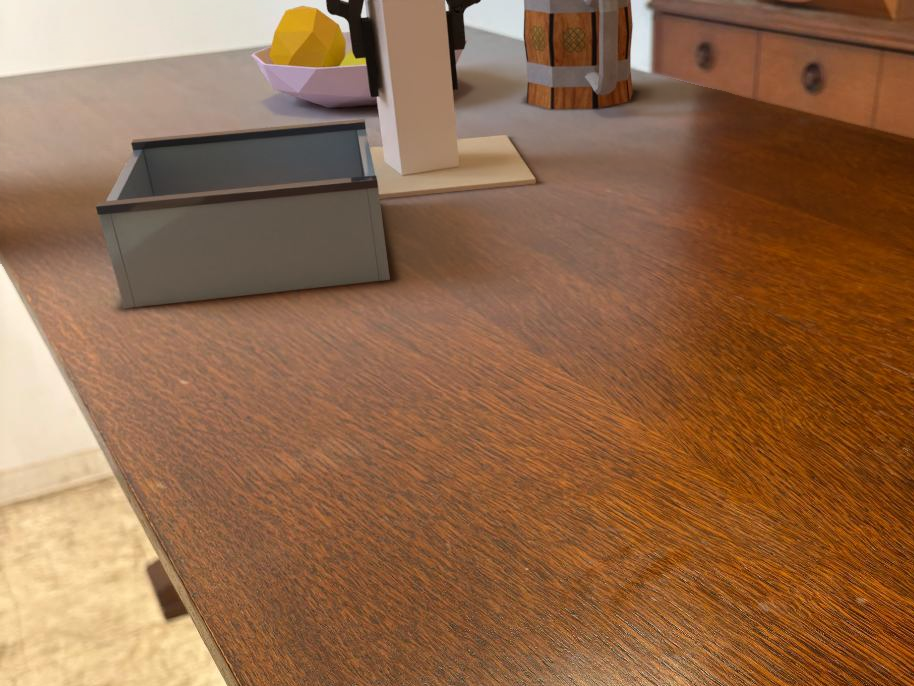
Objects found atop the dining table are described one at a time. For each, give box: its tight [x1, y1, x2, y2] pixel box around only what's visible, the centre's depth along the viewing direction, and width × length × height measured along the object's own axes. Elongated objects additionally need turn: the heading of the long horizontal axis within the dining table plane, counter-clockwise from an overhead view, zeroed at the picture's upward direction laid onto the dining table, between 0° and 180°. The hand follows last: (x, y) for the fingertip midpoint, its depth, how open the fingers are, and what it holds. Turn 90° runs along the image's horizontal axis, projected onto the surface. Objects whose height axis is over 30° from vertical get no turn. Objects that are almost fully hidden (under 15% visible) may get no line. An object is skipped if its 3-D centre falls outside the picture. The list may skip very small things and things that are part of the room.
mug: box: [523, 0, 634, 110], centre depth 126 cm, size 20×14×15 cm
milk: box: [364, 0, 459, 175], centre depth 102 cm, size 6×6×22 cm
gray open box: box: [95, 118, 391, 309], centre depth 87 cm, size 20×20×8 cm
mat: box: [370, 134, 537, 200], centre depth 108 cm, size 20×18×1 cm
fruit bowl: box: [250, 5, 468, 109], centre depth 137 cm, size 28×27×11 cm
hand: (413, 90), depth 104 cm, fingers closed on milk, 7 cm apart
